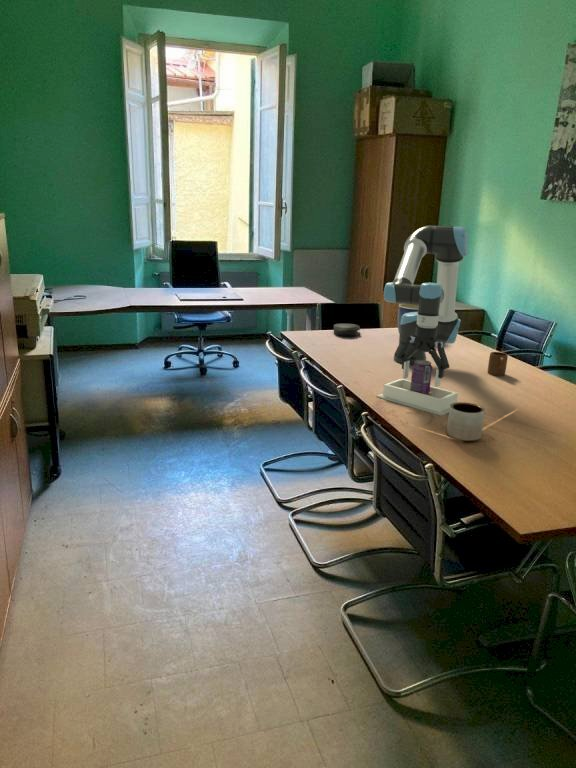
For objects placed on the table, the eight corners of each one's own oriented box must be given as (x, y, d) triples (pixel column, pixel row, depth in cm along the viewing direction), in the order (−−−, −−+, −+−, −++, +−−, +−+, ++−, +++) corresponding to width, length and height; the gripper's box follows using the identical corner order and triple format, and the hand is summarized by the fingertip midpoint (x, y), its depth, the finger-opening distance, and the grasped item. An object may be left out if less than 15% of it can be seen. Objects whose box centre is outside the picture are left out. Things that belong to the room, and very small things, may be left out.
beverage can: (430, 391, 219) (433, 360, 215) (428, 396, 212) (431, 365, 209) (411, 388, 221) (414, 358, 217) (408, 394, 214) (411, 363, 211)
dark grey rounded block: (333, 340, 314) (334, 327, 312) (332, 333, 331) (333, 320, 329) (360, 341, 313) (361, 328, 311) (358, 334, 330) (359, 322, 328)
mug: (509, 379, 250) (513, 358, 247) (492, 378, 251) (495, 357, 248) (502, 372, 262) (505, 352, 259) (485, 371, 262) (488, 351, 259)
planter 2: (441, 429, 191) (444, 401, 188) (473, 429, 192) (476, 402, 189) (453, 442, 180) (456, 413, 177) (486, 441, 181) (490, 413, 178)
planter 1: (392, 341, 315) (395, 307, 309) (398, 334, 333) (401, 301, 328) (430, 345, 308) (434, 310, 303) (435, 338, 327) (438, 305, 321)
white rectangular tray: (376, 397, 221) (377, 384, 219) (399, 388, 232) (400, 376, 231) (441, 416, 203) (443, 402, 201) (463, 406, 214) (464, 393, 212)
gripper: (392, 322, 214) (387, 376, 221) (453, 333, 198) (446, 391, 204) (403, 319, 220) (398, 373, 226) (463, 330, 203) (456, 387, 210)
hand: (420, 382), depth 215 cm, fingers open, 13 cm apart
